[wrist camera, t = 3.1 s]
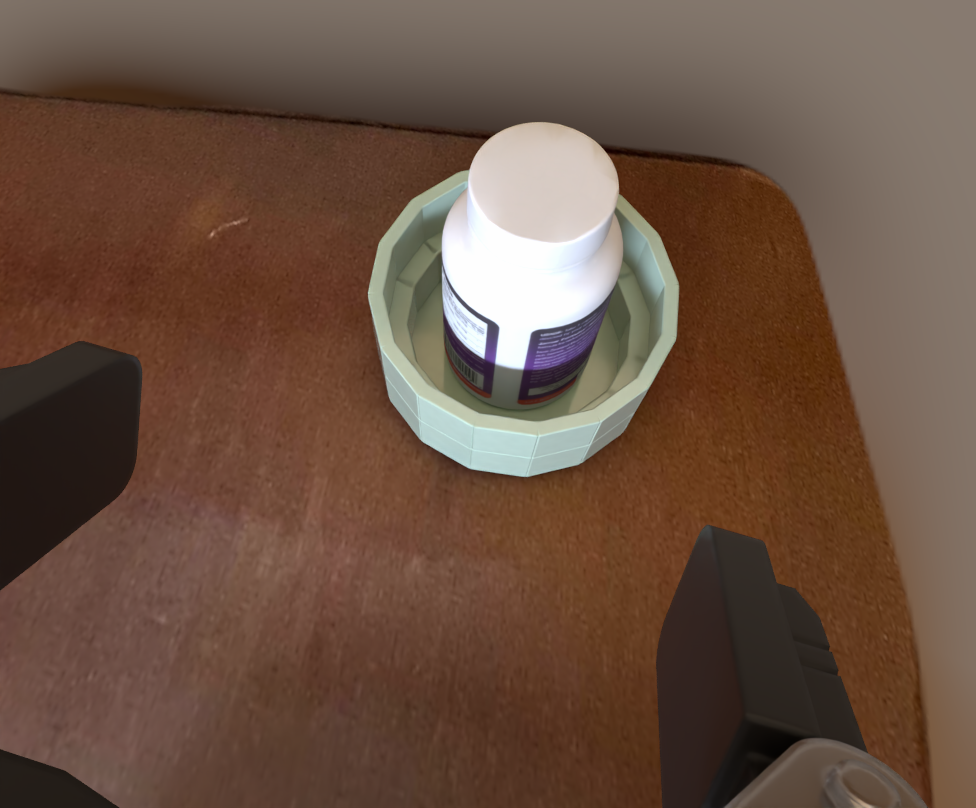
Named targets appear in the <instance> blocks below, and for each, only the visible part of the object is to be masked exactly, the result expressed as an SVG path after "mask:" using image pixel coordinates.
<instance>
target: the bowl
mask: <svg viewBox="0 0 976 808" xmlns="http://www.w3.org/2000/svg"><path fill="white" fill-rule="evenodd" d="M469 171H470V170H466V171H461V172H459V173H456V174H454V175H453V176H451V177H449V178H448V179H446V180H444V181H443V182H441V183H439V184H437V185H436V186H434V187H432V188H431V189H429V190H427V191H425V192H424V193H422V194H420V195H419V196H417V197H415V198H413V199H412V200H411V201H410V202H409V204H408V205H407V206H406V208H405V209H404V210H403V212H402V213H401V214H400V215H399V217H398V218H397V219H396V221H395V222H394V223H393V225H392V226H391V227H390V229H389V230H388V231H387V232H386V234H385V235H384V236H383V238H382V239H381V240H380V243H379V245H378V249H377V253H376V258H375V262H374V267H373V271H372V276H371V280H370V285H369V289H368V300H369V305H370V311H371V316H372V322H373V327H374V333H375V338H376V343H377V349H378V354H379V358H380V362H381V367H382V371H383V375H384V380H385V384H386V388H387V392H388V396H389V398H390V401H391V402H392V403H393V405H394V406H395V407H396V409H397V410H398V411H399V413H400V414H401V415H402V416H403V418H404V419H405V420H406V422H407V423H408V424H409V426H410V427H411V428H412V430H413V431H414V432H415V434H416V435H417V436H418V437H419V439H420V440H422V442H424V443H425V444H427V445H429V446H431V447H432V448H434V449H436V450H438V451H439V452H441V453H443V454H445V455H446V456H448V457H450V458H452V459H453V460H455V461H457V462H458V463H460V464H462V465H464V466H465V467H467V468H470V469H474V470H481V471H487V472H494V473H501V474H508V475H515V476H522V477H529V476H533V475H538V474H542V473H546V472H550V471H554V470H558V469H563V468H567V467H571V466H575V465H579V464H580V463H583V462H584V461H585V460H587V459H588V458H589V457H591V456H592V455H593V454H595V453H596V452H598V451H599V450H600V449H602V448H603V447H604V446H606V445H607V444H608V443H610V442H611V441H612V440H614V439H615V438H616V437H618V436H619V435H621V434H622V432H623V431H624V430H625V429H626V427H627V425H628V424H629V422H630V420H631V418H632V417H633V415H634V413H635V412H636V410H637V408H638V406H639V405H640V403H641V401H642V400H643V398H644V396H645V394H646V393H647V391H648V389H649V388H650V386H651V384H652V382H653V381H654V379H655V377H656V375H657V373H658V372H659V370H660V368H661V366H662V364H663V363H664V361H665V359H666V357H667V355H668V353H669V352H670V350H671V348H672V346H673V344H674V343H675V341H676V338H677V323H678V304H679V283H678V280H677V278H676V275H675V273H674V270H673V268H672V265H671V263H670V260H669V258H668V255H667V252H666V250H665V247H664V245H663V242H662V240H661V237H660V236H659V234H658V233H657V232H656V231H655V230H654V229H653V228H652V226H651V225H650V224H649V223H648V222H647V221H646V220H645V219H644V218H643V217H642V216H641V215H640V214H639V213H638V212H637V211H636V210H635V209H634V208H633V207H632V206H631V205H630V204H629V203H628V201H627V200H626V199H625V198H624V197H623V196H621V195H620V194H619V195H618V201H617V205H616V208H615V211H614V213H615V215H616V217H617V219H618V222H619V225H620V229H621V232H622V238H623V259H622V265H621V269H620V273H619V277H618V280H617V283H616V285H615V288H614V291H613V294H612V296H611V299H610V302H609V305H608V308H607V310H606V313H605V316H604V318H603V321H602V324H601V326H600V329H599V332H598V335H597V338H596V340H595V343H594V346H593V349H592V352H591V355H590V357H589V360H588V362H587V365H586V367H585V369H584V371H583V373H582V375H581V377H580V378H579V380H578V381H577V382H576V384H575V385H574V386H573V387H572V388H571V389H570V390H569V391H568V392H567V393H566V394H564V395H563V396H562V397H560V398H559V399H557V400H555V401H553V402H551V403H549V404H546V405H544V406H540V407H537V408H531V409H518V410H516V409H506V408H501V407H497V406H494V405H491V404H488V403H486V402H484V401H482V400H480V399H478V398H477V397H475V396H474V395H472V394H471V393H470V392H468V391H467V390H466V389H465V388H464V387H463V386H462V385H461V384H460V382H459V381H458V380H457V379H456V377H455V375H454V374H453V372H452V370H451V368H450V366H449V363H448V360H447V357H446V353H445V346H444V337H443V296H442V258H441V253H442V235H443V229H444V224H445V221H446V218H447V216H448V213H449V211H450V209H451V207H452V206H453V204H454V203H455V201H456V200H457V198H458V197H459V196H460V195H461V193H462V192H463V191H464V190H465V189H467V188H468V177H469Z"/></svg>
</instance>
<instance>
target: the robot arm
mask: <svg viewBox="0 0 976 808" xmlns="http://www.w3.org/2000/svg"><path fill="white" fill-rule="evenodd" d="M141 388H142V368H141V364H140V362H139V360H138V359H137V357H135V356H133V355H130V354H126V353H123V352H119V351H116V350H112V349H109V348H106V347H102V346H99V345H95V344H92V343H89V342H85V341H78V342H75V343H73V344H71V345H69V346H66V347H64V348H62V349H60V350H58V351H55V352H53V353H51V354H49V355H47V356H44V357H42V358H40V359H38V360H36V361H33V362H31V363H29V364H24V365H18V366H13V367H8V368H3V369H0V590H1V589H3V588H4V587H5V586H6V585H8V584H9V583H10V582H11V581H13V580H14V579H15V578H16V577H18V576H19V575H20V574H21V573H23V572H24V571H25V570H27V569H28V568H29V567H30V566H32V565H33V564H34V563H35V562H37V561H38V560H39V559H40V558H42V557H43V556H44V555H45V554H47V553H48V552H49V551H50V550H52V549H53V548H54V547H56V546H57V545H58V544H59V543H61V542H62V541H63V540H64V539H66V538H67V537H68V536H69V535H71V534H72V533H73V532H74V531H76V530H77V529H78V528H79V527H81V526H82V525H83V524H85V523H86V522H87V521H88V520H90V519H91V518H92V517H93V516H95V515H96V514H97V513H98V512H100V511H101V510H102V509H103V508H105V507H106V506H107V505H109V504H110V503H111V502H112V501H114V500H115V499H116V498H117V497H118V496H119V495H120V494H121V493H122V491H123V490H124V488H125V487H126V485H127V484H128V482H129V480H130V478H131V475H132V473H133V470H134V467H135V463H136V457H137V444H138V430H139V416H140V402H141ZM829 647H830V646H829V643H828V640H827V637H826V634H825V632H824V629H823V626H822V623H821V620H820V618H819V616H818V615H817V614H816V613H815V612H814V611H813V609H812V608H811V607H810V606H809V605H808V603H807V602H806V601H805V600H804V599H803V598H802V596H801V595H800V594H799V593H798V592H797V590H796V589H795V588H791V587H788V586H785V585H781V584H778V583H777V582H776V579H775V576H774V572H773V569H772V565H771V562H770V559H769V555H768V552H767V548H766V545H765V543H764V542H763V541H762V540H759V539H755V538H752V537H748V536H745V535H741V534H738V533H735V532H731V531H728V530H724V529H721V528H717V527H714V526H711V525H706V526H705V527H704V528H703V529H702V531H701V532H700V534H699V536H698V538H697V541H696V543H695V545H694V548H693V550H692V553H691V555H690V558H689V560H688V563H687V565H686V568H685V570H684V573H683V575H682V578H681V580H680V583H679V585H678V588H677V590H676V593H675V595H674V598H673V600H672V603H671V605H670V608H669V610H668V613H667V615H666V618H665V621H664V624H663V627H662V631H661V635H660V639H659V644H658V650H657V660H656V669H657V692H658V715H659V738H660V761H661V784H662V807H663V808H928V807H927V806H926V804H925V803H924V802H923V800H922V799H921V797H920V796H919V795H918V794H917V793H916V792H915V790H914V789H913V788H912V787H911V786H910V785H909V784H908V783H907V782H906V781H905V780H904V779H903V778H902V777H901V776H900V775H898V774H897V773H896V772H895V771H893V770H892V769H891V768H890V767H888V766H887V765H885V764H884V763H882V762H881V761H879V760H878V759H876V758H875V757H873V756H871V755H869V754H868V752H867V749H866V746H865V744H864V741H863V738H862V735H861V732H860V730H859V727H858V724H857V721H856V718H855V716H854V713H853V710H852V707H851V704H850V702H849V699H848V696H847V693H846V690H845V688H844V685H843V682H842V679H841V677H840V676H837V673H838V668H837V665H836V662H835V660H834V657H833V654H832V652H830V651H829ZM0 808H119V807H118V806H116V805H115V804H113V803H112V802H110V801H109V800H107V799H106V798H104V797H103V796H101V795H100V794H98V793H97V792H95V791H94V790H93V789H91V788H90V787H88V786H87V785H85V784H84V783H82V782H81V781H79V780H78V779H76V778H75V777H73V776H72V775H71V774H69V773H68V772H66V771H64V770H61V769H58V768H55V767H52V766H49V765H46V764H43V763H40V762H37V761H34V760H31V759H28V758H25V757H22V756H19V755H16V754H13V753H10V752H7V751H4V750H0Z"/></svg>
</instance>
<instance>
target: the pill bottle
mask: <svg viewBox="0 0 976 808" xmlns="http://www.w3.org/2000/svg"><path fill="white" fill-rule="evenodd" d="M618 195H619V183H618V176H617V172H616V169H615V167H614V164H613V162H612V161H611V159H610V157H609V156H608V155H607V153H606V152H605V151H604V150H603V148H602V147H601V146H600V145H599V144H598V143H596V142H595V141H594V140H593V139H591V138H590V137H588V136H587V135H585V134H583V133H581V132H579V131H577V130H575V129H572V128H569V127H566V126H563V125H560V124H555V123H546V122H533V123H525V124H520V125H516V126H513V127H510V128H507V129H505V130H503V131H501V132H499V133H497V134H496V135H494V136H493V137H491V138H490V139H489V140H488V141H487V142H486V143H485V144H484V145H483V146H482V147H481V148H480V149H479V151H478V152H477V154H476V156H475V157H474V159H473V162H472V164H471V167H470V171H469V177H468V188H467V189H465V190H464V191H463V192H462V193H461V195H460V196H459V197H458V198H457V200H456V201H455V203H454V204H453V206H452V207H451V209H450V211H449V213H448V216H447V218H446V221H445V224H444V229H443V235H442V253H441V258H442V296H443V337H444V346H445V353H446V357H447V360H448V363H449V366H450V368H451V370H452V372H453V374H454V375H455V377H456V379H457V380H458V381H459V382H460V384H461V385H462V386H463V387H464V388H465V389H466V390H467V391H468V392H470V393H471V394H472V395H474V396H475V397H477V398H478V399H480V400H482V401H484V402H486V403H488V404H491V405H494V406H497V407H501V408H506V409H516V410H518V409H531V408H537V407H540V406H544V405H546V404H549V403H551V402H553V401H555V400H557V399H559V398H560V397H562V396H563V395H564V394H566V393H567V392H568V391H569V390H570V389H571V388H572V387H573V386H574V385H575V384H576V382H577V381H578V380H579V378H580V377H581V375H582V373H583V371H584V369H585V367H586V365H587V362H588V360H589V357H590V355H591V352H592V349H593V346H594V343H595V340H596V338H597V335H598V332H599V329H600V326H601V324H602V321H603V318H604V316H605V313H606V310H607V308H608V305H609V302H610V299H611V296H612V294H613V291H614V288H615V285H616V283H617V280H618V277H619V273H620V269H621V265H622V259H623V238H622V232H621V229H620V225H619V222H618V219H617V217H616V215H615V213H614V211H615V208H616V205H617V201H618Z"/></svg>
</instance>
